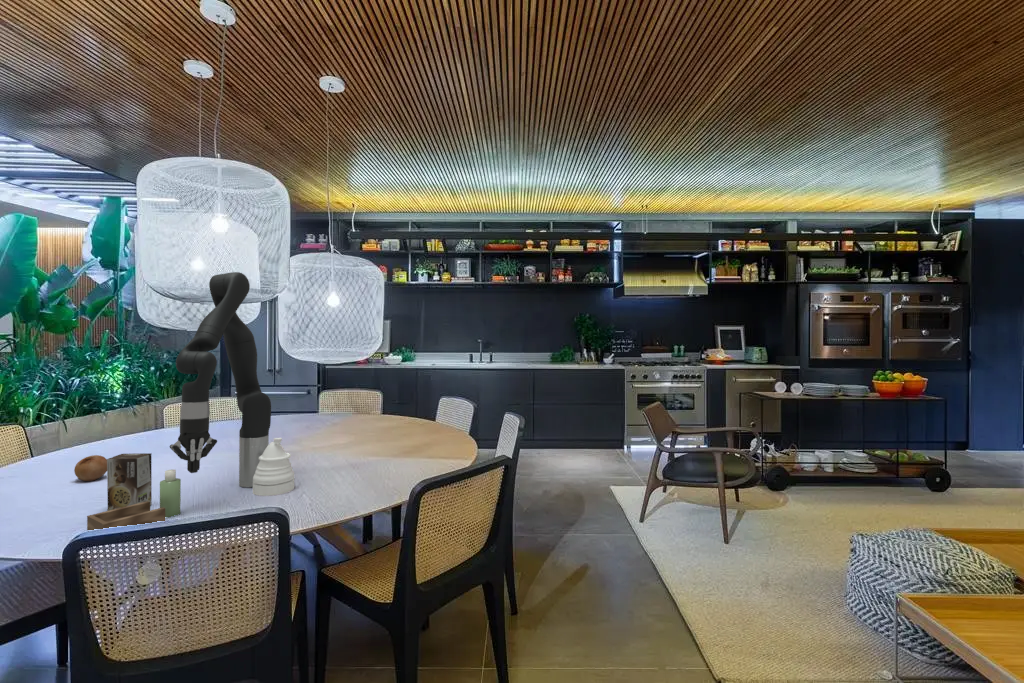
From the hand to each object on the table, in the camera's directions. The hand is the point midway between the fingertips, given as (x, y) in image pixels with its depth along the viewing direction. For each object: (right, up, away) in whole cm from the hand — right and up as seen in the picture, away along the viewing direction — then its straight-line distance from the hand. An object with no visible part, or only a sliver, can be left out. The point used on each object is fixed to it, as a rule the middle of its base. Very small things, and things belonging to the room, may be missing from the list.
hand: (193, 472), depth 147 cm
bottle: (-3, -11, -6) cm, 13 cm away
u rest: (-8, -11, -14) cm, 20 cm away
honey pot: (+16, -11, +18) cm, 26 cm away
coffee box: (-19, -11, -1) cm, 22 cm away
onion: (-55, -10, +27) cm, 62 cm away
